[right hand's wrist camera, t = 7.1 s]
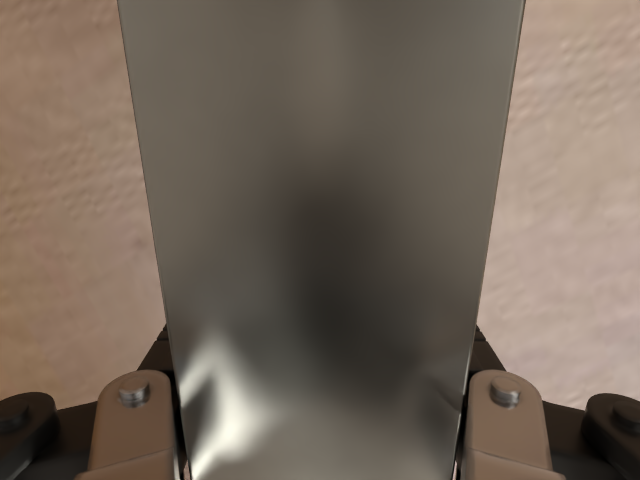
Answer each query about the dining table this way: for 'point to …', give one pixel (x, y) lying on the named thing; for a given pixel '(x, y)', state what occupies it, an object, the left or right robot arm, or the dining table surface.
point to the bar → (321, 222)
